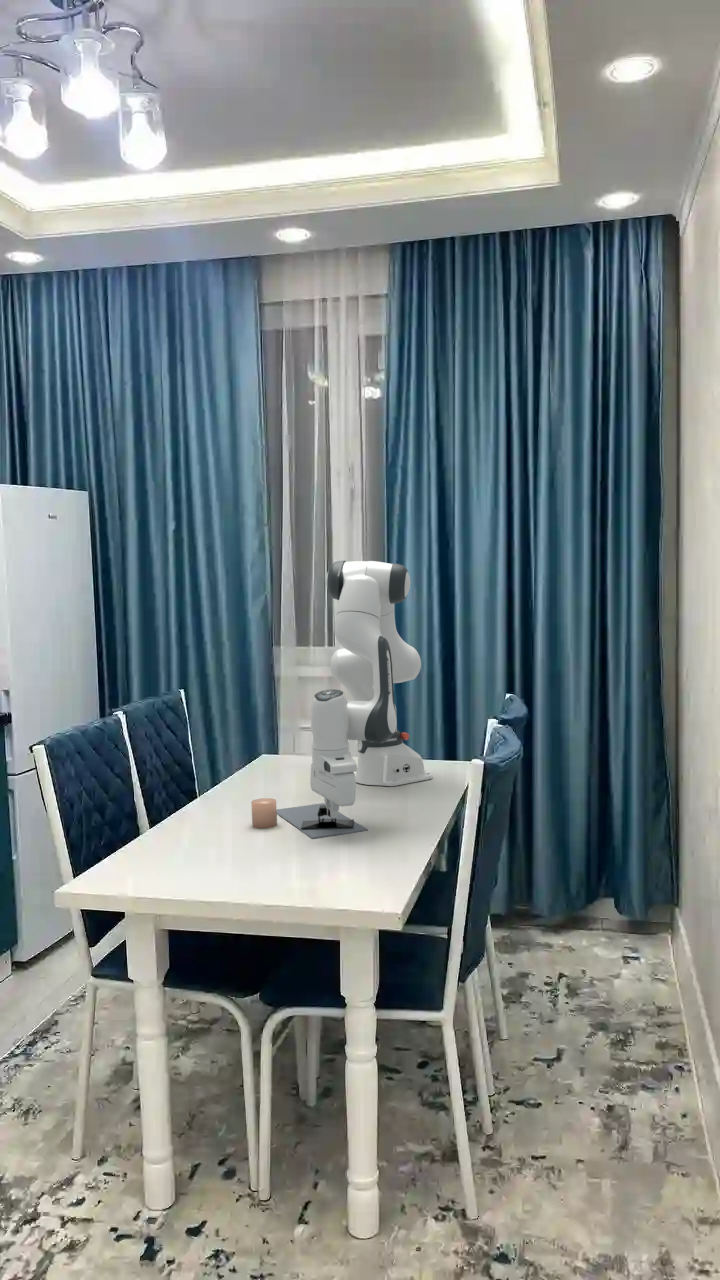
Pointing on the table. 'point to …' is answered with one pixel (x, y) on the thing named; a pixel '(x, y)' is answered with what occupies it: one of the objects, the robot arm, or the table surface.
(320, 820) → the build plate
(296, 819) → the mat
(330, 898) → the table surface
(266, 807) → the peach rounded cylinder
